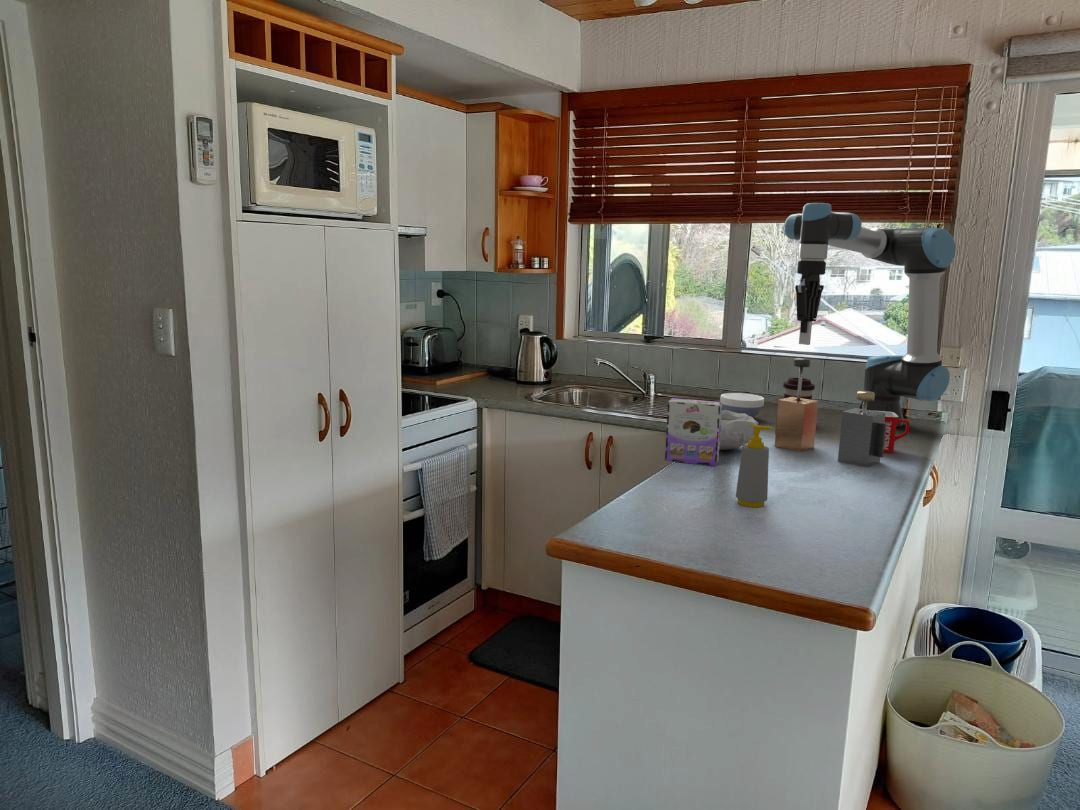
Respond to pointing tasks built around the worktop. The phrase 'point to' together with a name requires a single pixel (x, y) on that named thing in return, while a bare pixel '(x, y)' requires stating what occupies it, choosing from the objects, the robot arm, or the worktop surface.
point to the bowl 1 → (742, 403)
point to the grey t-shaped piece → (801, 372)
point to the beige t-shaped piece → (865, 398)
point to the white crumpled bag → (735, 430)
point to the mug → (892, 430)
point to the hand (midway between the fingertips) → (804, 344)
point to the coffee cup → (792, 388)
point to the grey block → (862, 437)
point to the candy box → (693, 431)
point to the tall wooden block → (796, 423)
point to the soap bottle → (753, 471)
